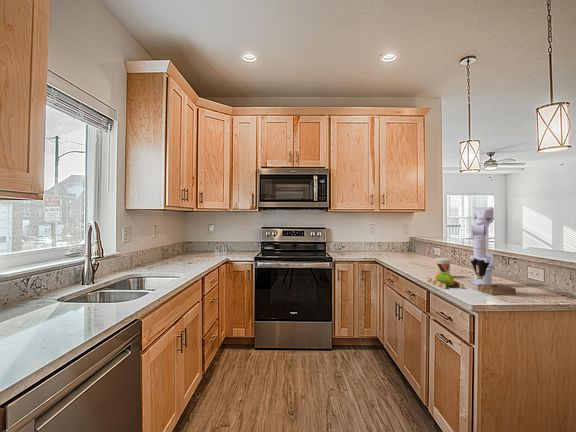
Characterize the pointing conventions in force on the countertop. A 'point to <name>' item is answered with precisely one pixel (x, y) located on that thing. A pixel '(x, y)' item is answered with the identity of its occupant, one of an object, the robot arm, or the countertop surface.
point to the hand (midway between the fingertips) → (480, 275)
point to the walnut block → (497, 289)
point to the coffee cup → (442, 265)
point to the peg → (478, 273)
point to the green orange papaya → (445, 278)
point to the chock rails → (443, 283)
